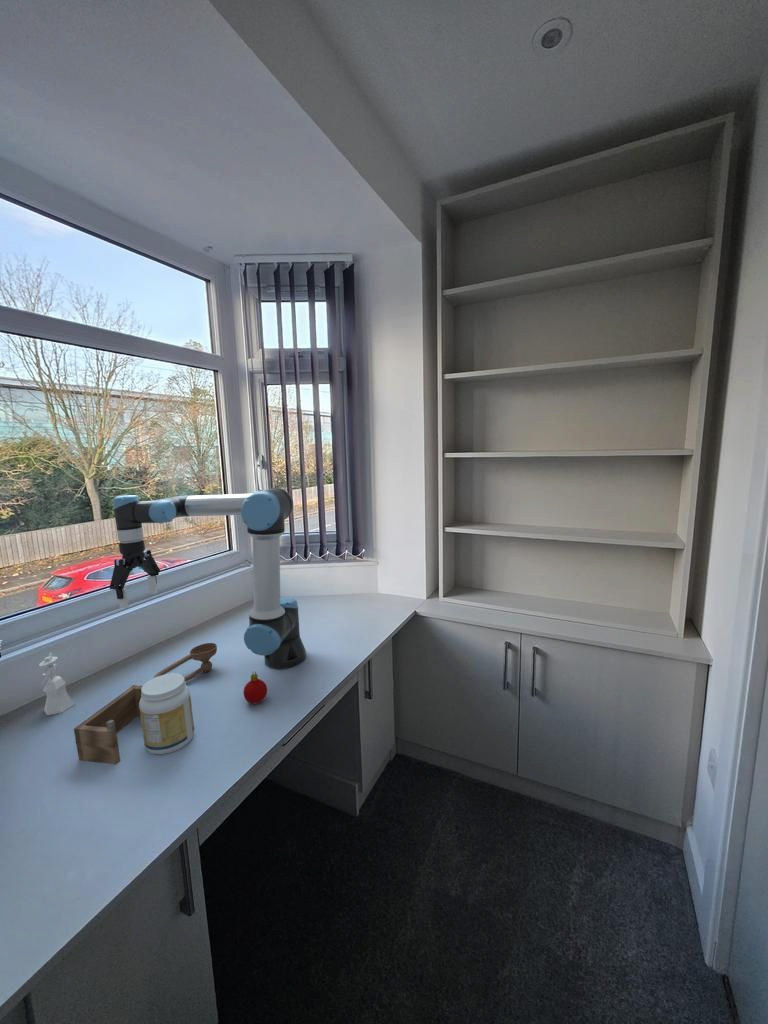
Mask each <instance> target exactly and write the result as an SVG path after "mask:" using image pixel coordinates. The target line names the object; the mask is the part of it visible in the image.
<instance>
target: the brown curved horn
mask: <svg viewBox="0 0 768 1024" xmlns="http://www.w3.org/2000/svg"><path fill="white" fill-rule="evenodd" d="M217 650H218V645H217V644H216V643H215V642H210V643H209V642H207V643H202V644H200V645H197V646H194V647H193V648H192V649H191V650H190V651H189V654H188V655H186V656H183V657H182V658H180V659H179V660H177V661H175V662H173V663H172V664H169V665H168V666H166V667H164V668H163V669H162V670H160V671H158V672H157V673H156V674H154V676H153V678H155V677H158V676H161V675H165V674H167V673H168V672H169V671H172V670H173V669H174V668H176V667H178V666H180V665H182V664H184V663H185V662H186V661H188V660H190V659H192V660H193V661H199V662H201V664H200V667H199V668H197V669H196V670H195V671H193V672H192V673H190V674H188V675H186V676H183V677H184V679H185V682H188V681H190V680H192V679H193V678H195V677H196V676H198V675H199V674H201V673H209V672H210V671H211V670H212V668H213V663H212V662H211V661H210V659H212V657H214V656H215V655H216V654H217Z"/></svg>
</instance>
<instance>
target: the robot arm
mask: <svg viewBox="0 0 768 1024" xmlns="http://www.w3.org/2000/svg"><path fill="white" fill-rule="evenodd" d="M112 506H113V507H112V511H113V515H114V520H115V527H116V534H117V541H118V542H119V543H118V549H119V554H121V555H122V557H121V558H120V559H119V558H115V559H114V561H113V562H114V567H113V571H112V576H111V579H110V584H109V590H113V591H115V593H116V599H117V600H118V605H119V609H128V608H129V603H128V602H129V601H128V596H127V589H126V588H125V586H126V583H127V582H128V578H129V576H130V574H131V572H132V571H133V570H134V569H136V568H137V567H140V568H142V570H143V571H144V572H145V573H146V574H147V575H148V576H147V577H146V578H147V585H148V592H149V595H157V594H158V586H157V584H158V581H157V580H158V579H157V576H159V574H160V572H161V568H160V567H159V565H158V563H157V562H156V560H155V559H154V558H155V557H153V553H152V550H150V549H146V545H145V540H144V529H143V524H163V523H164V524H165V523H171V522H172V521H173V520H174V519H176V518H181V517H183V518H184V517H186V518H187V517H209V516H211V517H215V516H217V517H218V516H219V517H220V516H240V517H241V520H242V521H243V522H242V523H244V524H245V526H246V529H247V534H248V536H250V537H251V538H252V579H253V580H252V582H253V583H252V584H253V587H252V588H253V592H252V593H253V608H252V609H250V610H249V612H248V619H249V620H248V621H249V622H248V627H247V628H246V629H245V630H244V633H243V641H244V644H245V646H246V648H247V649H248V650H250V652H252V653H253V654H255V655H257V656H263V659H264V664H265V665H266V667H269V668H272V669H278V670H280V669H289V668H293V667H295V666H299V665H300V664H301V663H302V662H304V660H306V658H307V652H306V647H305V646H304V643H303V641H302V638H301V631H300V618H299V617H300V616H299V606H298V601H297V599H295V598H293V597H281V538H280V537H281V536H282V535H283V534H284V533H285V524H286V523H285V520H287V518H289V517H290V515H292V512H293V509H294V500H293V497H292V495H291V494H290V493H289V492H288V491H287V490H285V489H283V488H280V487H271V488H268V489H258V490H256V491H255V492H254V493H252V492H251V493H229V494H224V493H223V494H204V495H203V494H201V495H198V494H197V495H186V494H178V495H174V496H170V497H166V498H160V499H155V500H140V499H139V496H138V495H137V494H136V495H135V494H130V495H129V494H127V495H117V496H115V497H114V498H113V499H112Z"/></svg>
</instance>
